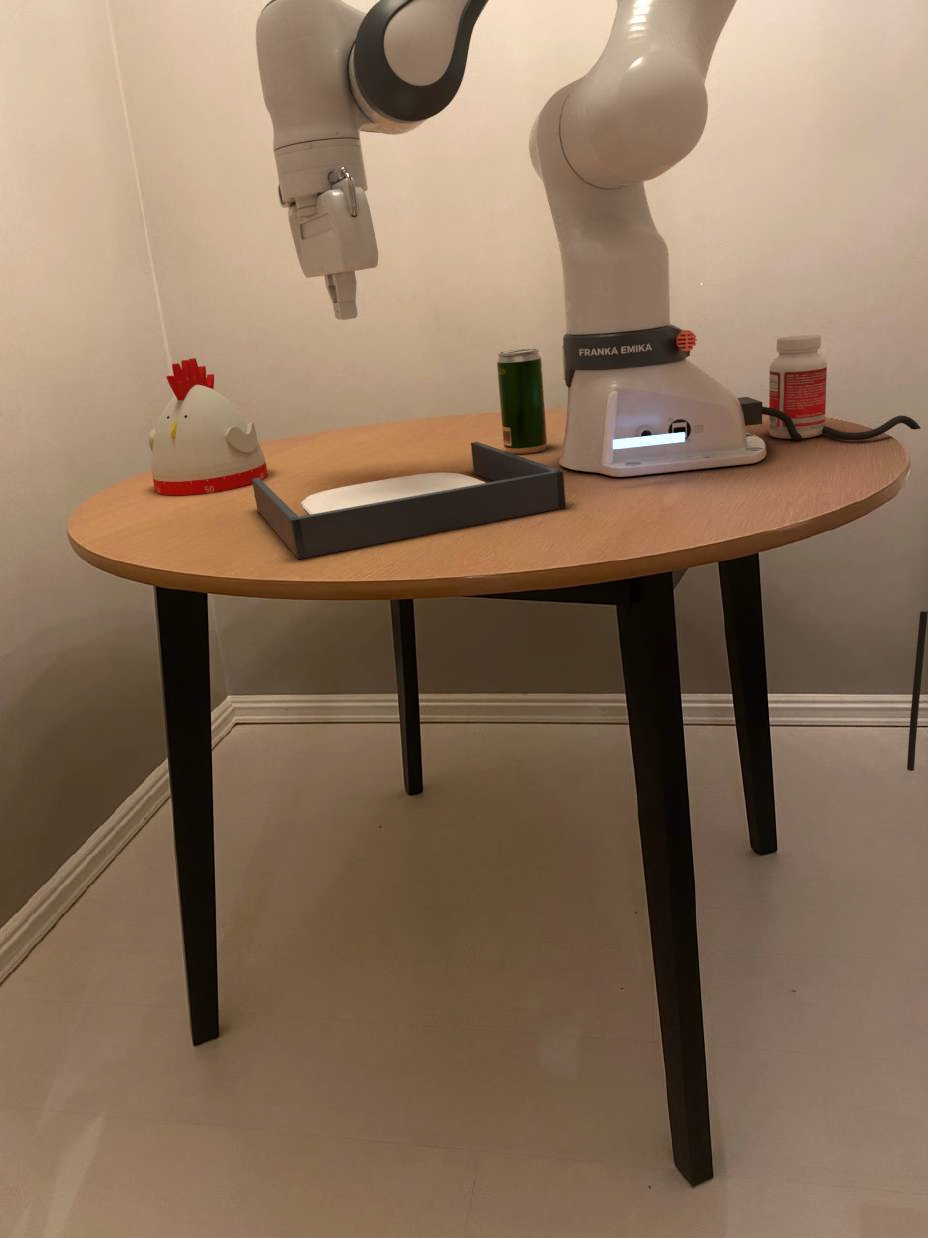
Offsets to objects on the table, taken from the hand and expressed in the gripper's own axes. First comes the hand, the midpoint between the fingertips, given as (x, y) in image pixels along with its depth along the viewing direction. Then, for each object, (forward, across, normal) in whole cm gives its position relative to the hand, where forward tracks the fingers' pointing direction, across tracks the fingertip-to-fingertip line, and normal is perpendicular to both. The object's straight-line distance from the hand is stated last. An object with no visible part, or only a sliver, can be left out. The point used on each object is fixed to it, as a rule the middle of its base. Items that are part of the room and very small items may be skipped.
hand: (346, 318), depth 101 cm
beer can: (+19, +4, -21) cm, 29 cm away
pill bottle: (+20, -13, -48) cm, 53 cm away
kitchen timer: (+18, +18, +16) cm, 30 cm away
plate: (+18, -15, +2) cm, 24 cm away
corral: (+18, -14, +1) cm, 23 cm away
